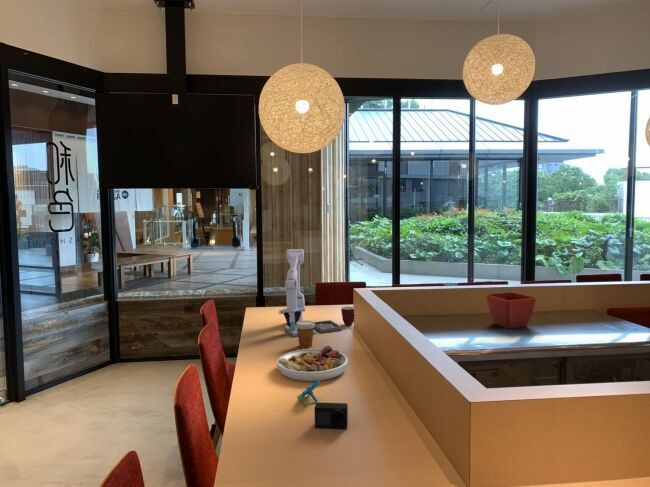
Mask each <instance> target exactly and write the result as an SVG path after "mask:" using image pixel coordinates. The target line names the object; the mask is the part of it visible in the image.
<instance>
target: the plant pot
mask: <svg viewBox="0 0 650 487" xmlns="http://www.w3.org/2000/svg"><path fill="white" fill-rule="evenodd" d="M536 299H537V298H536V297H534V296H530V295H526V294H522V293H518V292H514V291H513V292H498V293H487V294H486V300H487V306H488V309H489V312H490V313H489V314H490V317H491V319H492V322H493V324H494V325H497V326H500V327H503V328H506V329H517V328H525V327H527V326H528V324H529V323H530V322H529V321H530V319H531V317H532V314H533V311H534V308H535V304H536Z"/></svg>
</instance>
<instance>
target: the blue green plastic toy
mask: <svg viewBox="0 0 650 487" xmlns="http://www.w3.org/2000/svg"><path fill="white" fill-rule="evenodd" d="M320 382H321V381H315V382H314V383H313V384H311V385H310V386H308V387H306V388H305V389H304V390H303V391H302V393H301V394H298V396H297V398H296V399H297V400H298V401H301V403H302V402H303V404H304V406H305V407H308V406H309V405H308V403H307V402H306V400H307V399H308V398H310V397H311V398H312V400H313V401H314V402H315V403H316V402H319V400H318V399H317V397H316V396H315V395H314V392H313V391H314V390H315V389H316V388H317V387H318V386H319V385H320V384H321V383H320Z"/></svg>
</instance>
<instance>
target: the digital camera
mask: <svg viewBox="0 0 650 487" xmlns="http://www.w3.org/2000/svg"><path fill="white" fill-rule="evenodd" d="M348 408H349V405H348V402H347V403H346V402H343V403H342V402H320V401H317V402H315V405H314V429H320V430H321V429H325V430H347V429H348V423H349V416H348V415H349V414H348V412H349V411H348Z"/></svg>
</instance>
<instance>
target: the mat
mask: <svg viewBox="0 0 650 487" xmlns="http://www.w3.org/2000/svg"><path fill="white" fill-rule="evenodd" d="M284 330H285V331H286V332H288V333H289V335H291V336H292V335H293V337H294V338H295V336H297V337H298V335H294V334H292V333H291V332H290V331H289V330H287V329H286V328H285V327H284ZM317 334H318V333H317V331H316V332H313V335H317Z"/></svg>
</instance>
